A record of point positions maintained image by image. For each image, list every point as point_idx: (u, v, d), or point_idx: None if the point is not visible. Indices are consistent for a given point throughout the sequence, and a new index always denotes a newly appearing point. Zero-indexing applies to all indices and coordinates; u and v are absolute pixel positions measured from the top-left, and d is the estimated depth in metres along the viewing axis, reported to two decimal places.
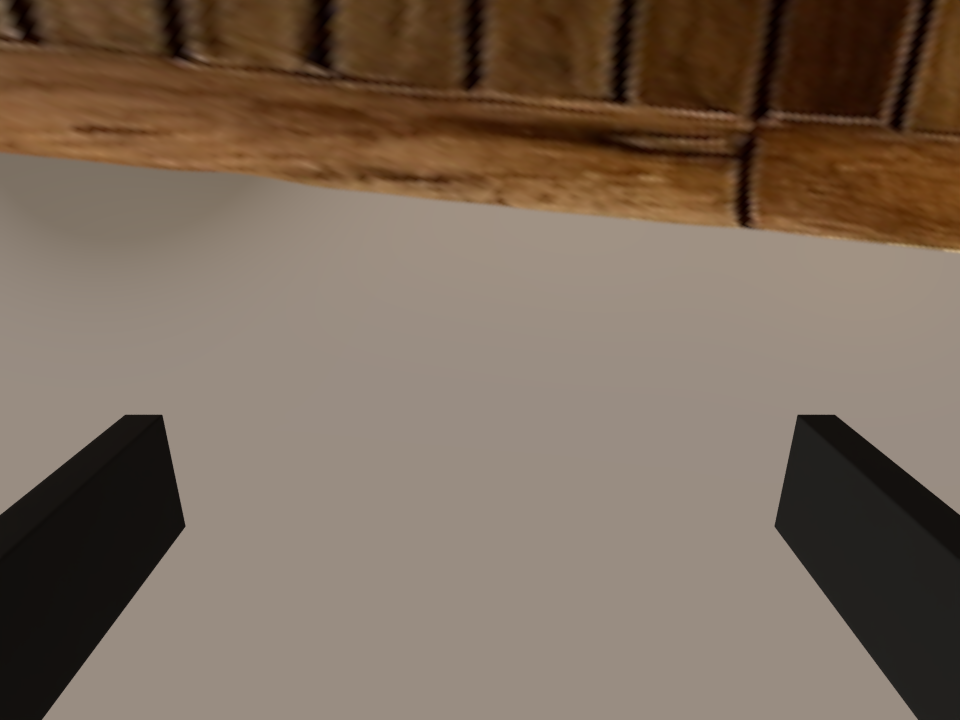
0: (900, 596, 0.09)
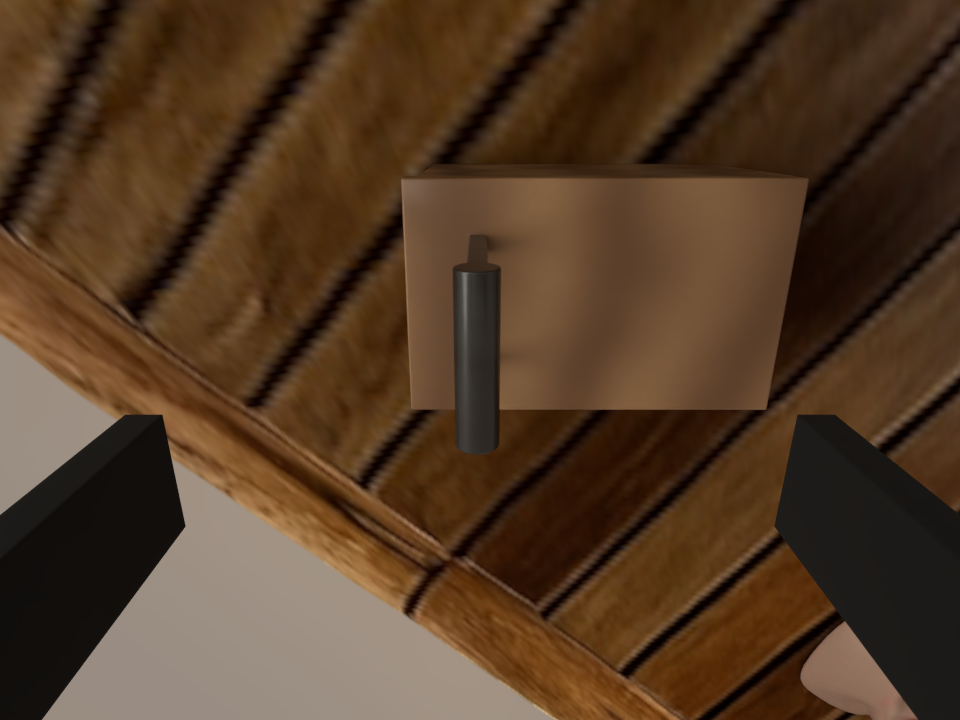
0: (900, 597, 0.09)
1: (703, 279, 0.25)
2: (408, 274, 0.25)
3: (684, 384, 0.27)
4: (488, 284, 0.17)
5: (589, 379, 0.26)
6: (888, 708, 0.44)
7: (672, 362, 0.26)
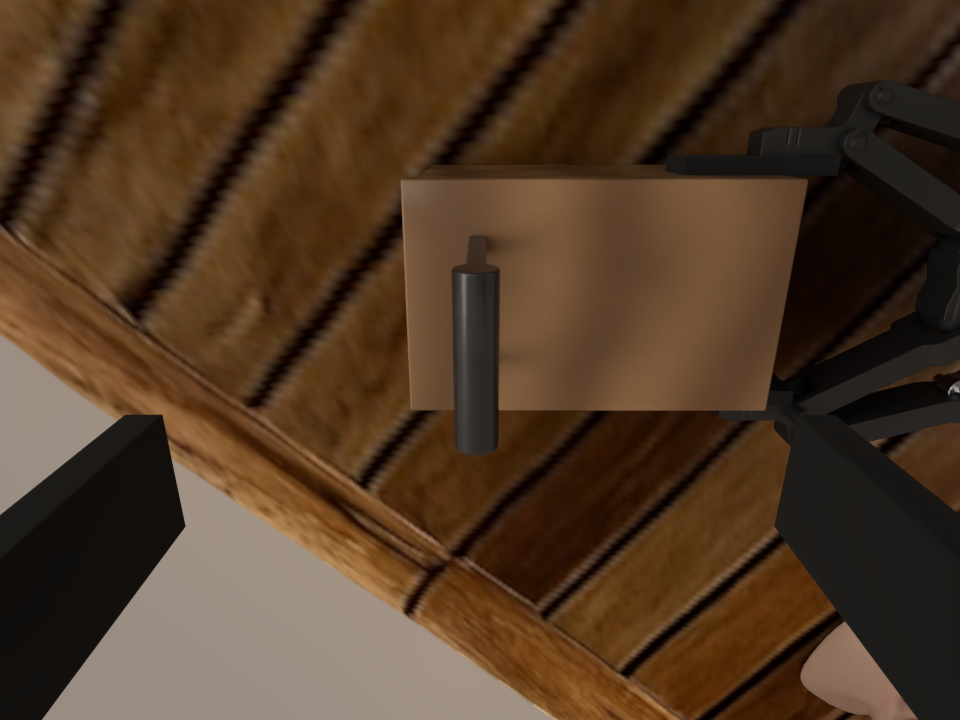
0: (900, 597, 0.09)
1: (702, 280, 0.25)
2: (407, 275, 0.25)
3: (683, 385, 0.27)
4: (487, 285, 0.17)
5: (588, 380, 0.26)
6: (888, 708, 0.44)
7: (671, 363, 0.26)
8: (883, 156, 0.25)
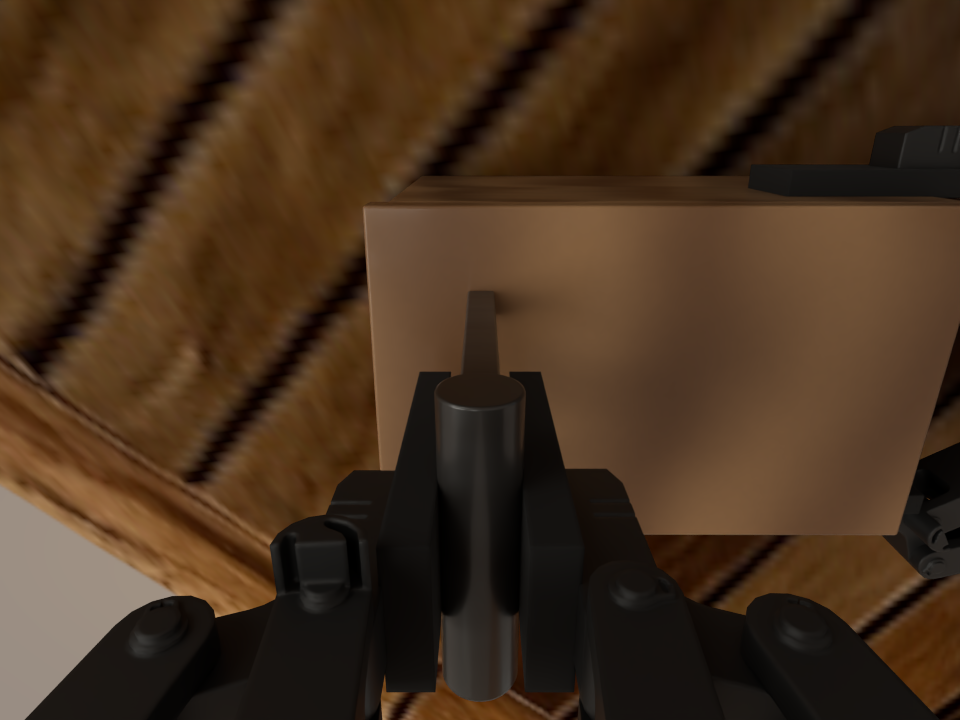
0: None
1: (819, 355, 0.17)
2: (376, 348, 0.17)
3: (781, 501, 0.18)
4: (502, 428, 0.09)
5: (642, 494, 0.18)
6: None
7: (765, 471, 0.18)
8: None
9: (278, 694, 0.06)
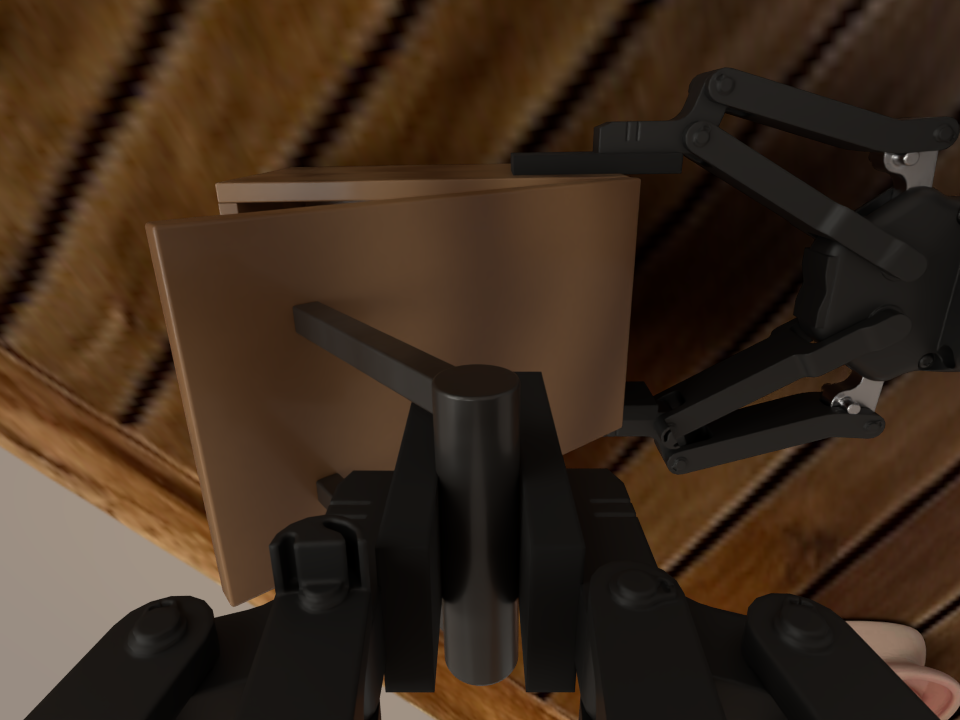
0: None
1: (566, 305, 0.21)
2: (193, 394, 0.14)
3: (558, 428, 0.22)
4: (516, 407, 0.10)
5: None
6: None
7: None
8: (730, 151, 0.23)
9: (278, 693, 0.06)
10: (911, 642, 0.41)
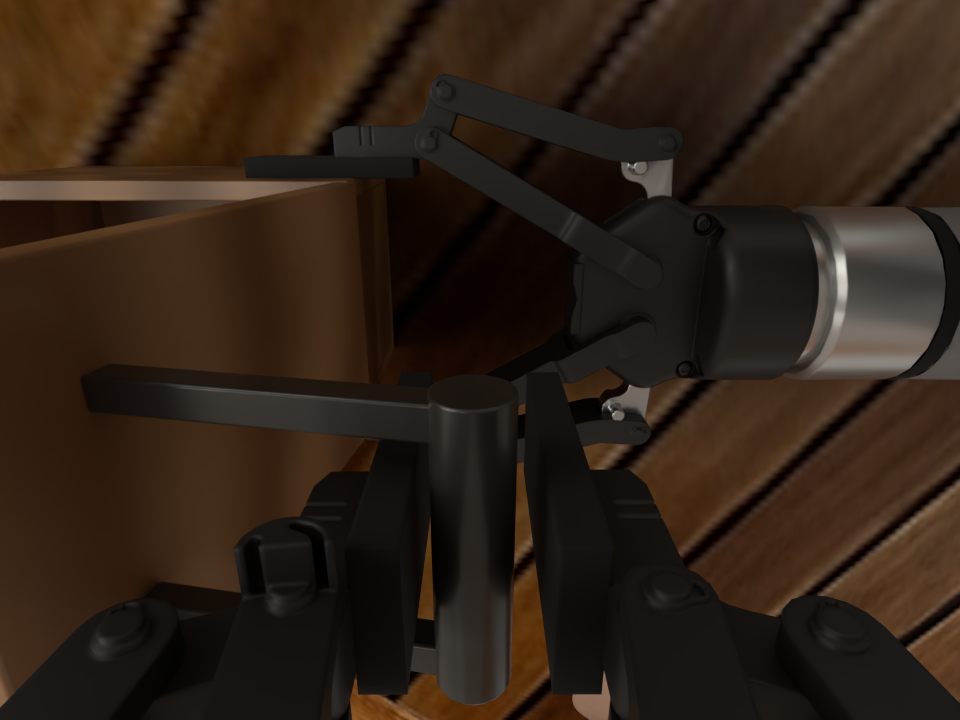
0: (538, 509, 0.11)
1: (324, 317, 0.20)
2: None
3: (333, 447, 0.21)
4: None
5: (273, 510, 0.17)
6: None
7: None
8: (460, 157, 0.23)
9: (242, 698, 0.06)
10: None
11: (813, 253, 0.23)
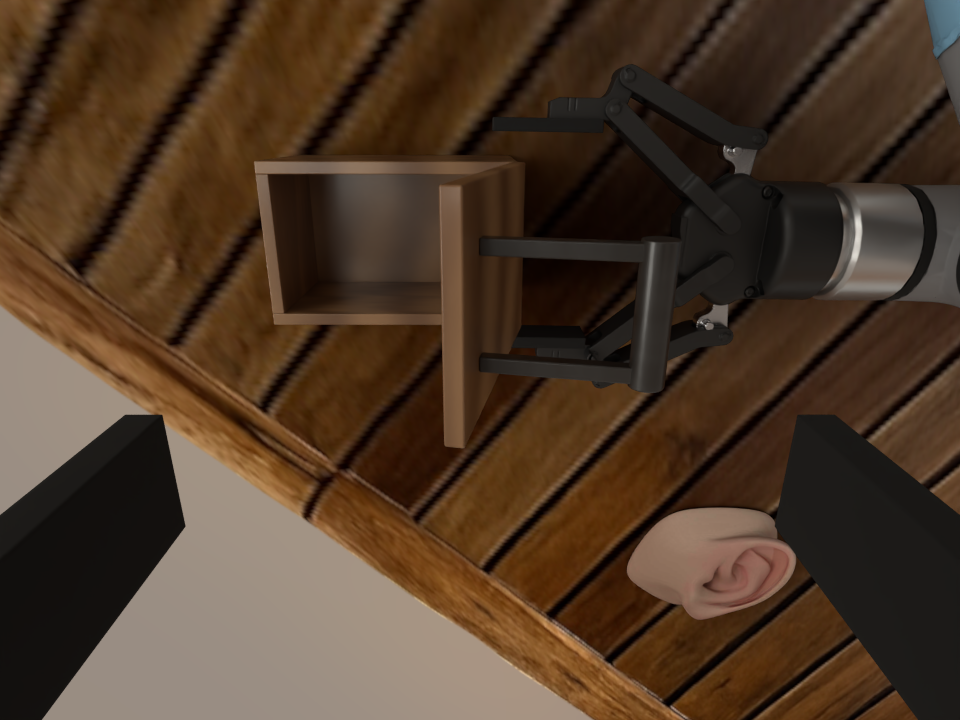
0: (899, 597, 0.09)
1: None
2: (463, 295, 0.22)
3: (512, 326, 0.34)
4: None
5: (499, 347, 0.30)
6: (689, 592, 0.54)
7: (510, 312, 0.33)
8: (632, 122, 0.36)
9: None
10: (763, 522, 0.54)
11: (840, 211, 0.36)
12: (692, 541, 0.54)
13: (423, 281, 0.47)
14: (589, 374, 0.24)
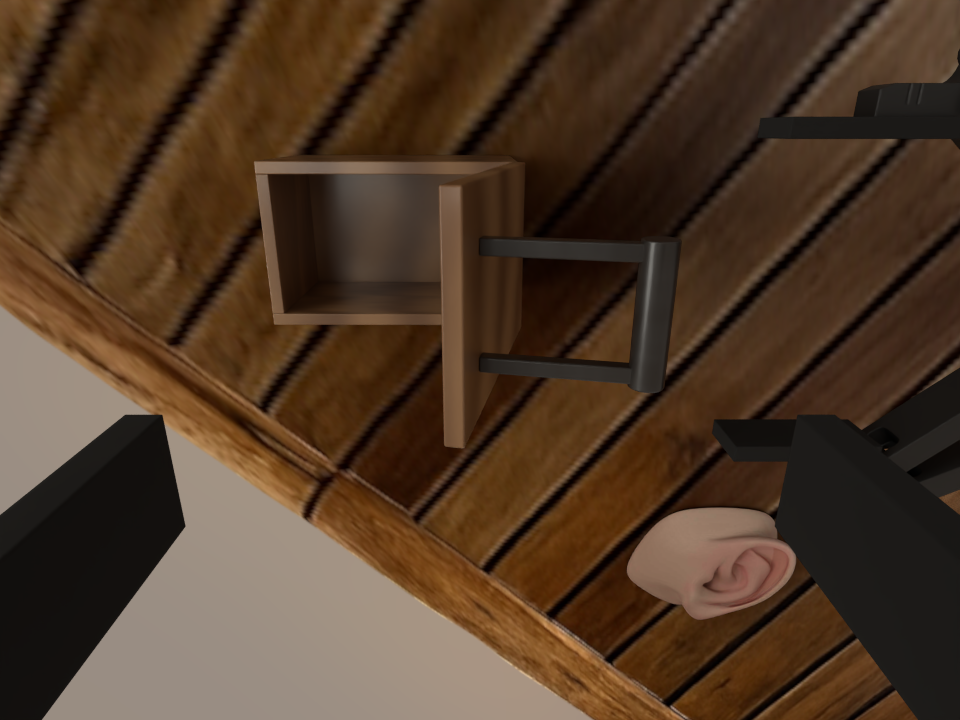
0: (899, 597, 0.09)
1: None
2: (463, 295, 0.22)
3: (512, 326, 0.34)
4: None
5: (499, 347, 0.30)
6: (689, 592, 0.54)
7: (510, 312, 0.33)
8: None
9: None
10: (763, 522, 0.54)
11: None
12: (692, 541, 0.54)
13: (423, 281, 0.47)
14: (589, 374, 0.24)
